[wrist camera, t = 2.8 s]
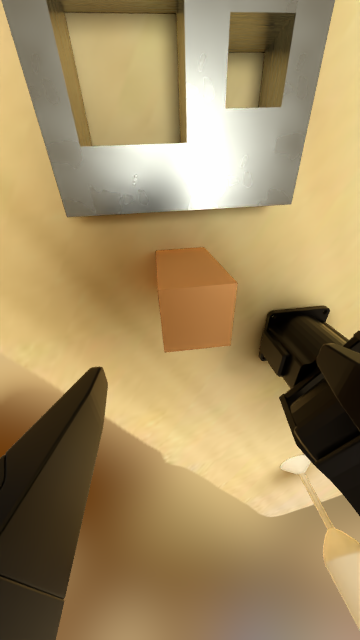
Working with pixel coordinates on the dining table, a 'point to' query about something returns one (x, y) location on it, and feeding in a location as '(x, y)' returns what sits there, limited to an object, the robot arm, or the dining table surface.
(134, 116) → the dining table surface
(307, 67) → the socket plate
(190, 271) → the peg
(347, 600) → the champagne flute
